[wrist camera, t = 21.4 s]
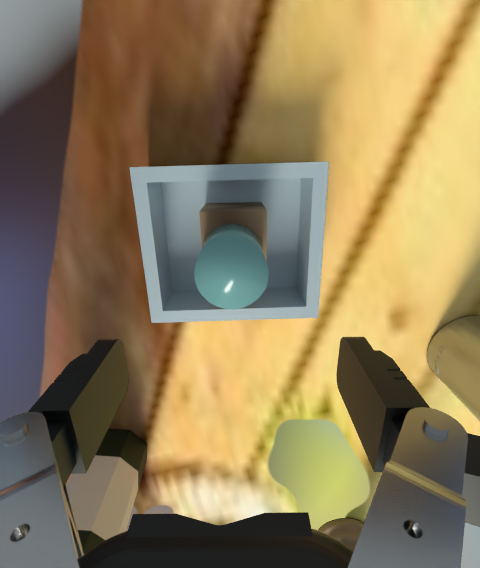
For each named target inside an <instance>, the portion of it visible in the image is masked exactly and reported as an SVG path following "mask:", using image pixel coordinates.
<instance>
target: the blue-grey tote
mask: <svg viewBox="0 0 480 568" xmlns="http://www.w3.org/2000/svg"><path fill="white" fill-rule="evenodd" d="M328 169H329V162H292V163H257V164H222V165H186V166H151V167H130V174H131V181H132V188H133V195H134V202H135V209H136V216H137V223H138V230H139V237H140V244H141V251H142V258H143V265H144V272H145V279H146V286H147V293H148V300H149V307H150V314H151V321H152V323H161V322H193V321H225V320H257V319H289V318H318V312H319V298H320V283H321V269H322V255H323V240H324V226H325V212H326V197H327V183H328ZM234 202H262V204H263V205H264V207H265V208H266V210H267V266H268V272H269V277H268V283H267V286H266V290H264V292H263V293H262V295H261V296H260V297H259V298H258V299H257V300H256V301H255V302H253V303H252V304H250V305H248V306H246V307H243V308H239V309H224V308H220V307H217V306H215V305H213V304H211V303H210V302H208V301H207V300H206V299H205V298H204V297H203V296H202V295H201V293H200V292H199V290H198V288H197V286H196V283H195V277H194V271H195V265H196V262H197V260H198V257H199V255H200V252H201V250H202V243H201V229H200V214H199V212H200V210H201V209H202V208H203V206H204V205H205V204H206V203H234Z"/></svg>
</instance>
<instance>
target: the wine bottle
mask: <svg viewBox="0 0 480 568" xmlns="http://www.w3.org/2000/svg"><path fill="white" fill-rule="evenodd" d="M146 459H147V444H146V443H145V442H144V441H142V440H141V439H140V438H139V437H138V436H136V435H135V434H134V433H133V432H132V431H130V430H119V429H108V430H107V432H106V434H105V436H104V438H103V440H102V442H101V444H100V447H99V449H98V451H97V453H96V455H95V457H94V459H93V461H92V463H91V465H90V467H89V469H88V471H87V473H86V474H72V476H71V478H70V480H69V481H68V483H67V485H66V487H67V491H68V495H69V498H70V502H71V506H72V510H73V514H74V518H75V522H76V526H77V530H78V534H79V538H80V542H81V545H82V549H83V553H84V554H86V553H87V552H88V551H90V550H91V549H92V548H94V547H95V546H97V545H98V544H100V543H102V542H103V541H105V540H107V539H109V538H111V537H113V536H115V535H118V534H120V533H123V532H126V528H127V525H128V521H129V518H130V515H131V511H132V508H133V505H134V501H135V498H136V494H137V491H138V488H139V484H140V481H141V478H142V474H143V471H144V467H145V464H146Z"/></svg>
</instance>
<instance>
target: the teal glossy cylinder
mask: <svg viewBox="0 0 480 568" xmlns="http://www.w3.org/2000/svg"><path fill="white" fill-rule="evenodd" d="M194 277H195V283H196V286H197V288H198V290H199V292H200V293H201V295H202V296H203V297H204V298H205V299H206V300H207V301H208V302H210V303H211V304H213V305H215V306H217V307H220V308H224V309H239V308H243V307H246V306H248V305H250V304H252V303H253V302H255V301H256V300H257V299H258V298H259V297H260V296H261V295H262V293H263V292H264V290H265V288H266V286H267V283H268V277H269V272H268V266H267V262H266V259H265V256H264V253H263V251H262V248H261V245H260V242H259V240H258V238H257V236H256V235H255V233H254V232H253V231H251V230H250V229H249V228H247V227H246V226H243V225H240V224H236V223H229V224H223V225H221V226H218V227H217V228H215V229H214V230H212V231H211V232H210V234H209V235H208V236H207V238H206V240H205V242H204V244H203V247H202V250H201V252H200V255H199V257H198V260H197V262H196V265H195V271H194Z"/></svg>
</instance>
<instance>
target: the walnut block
mask: <svg viewBox="0 0 480 568" xmlns="http://www.w3.org/2000/svg"><path fill="white" fill-rule="evenodd" d="M199 214H200V229H201V243H202V247H203V244H204V242H205V240H206V238H207V236H208V235H209V234H210V232H211V231H212V230H214V229H215V228H217V227H218V226H221V225H223V224H229V223H236V224H240V225H243V226H246V227H247V228H249V229H250V230H251V231H253V232H254V233H255V235H256V236H257V238H258V240H259V242H260V245H261V248H262V251H263V253H264V256H265V259H266V262H267V210H266V208H265V207H264V205H263V204H262V202H234V203H206V204H205V205H204V206H203V208H202V209H201V210H200V212H199ZM265 290H266V288H265Z"/></svg>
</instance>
